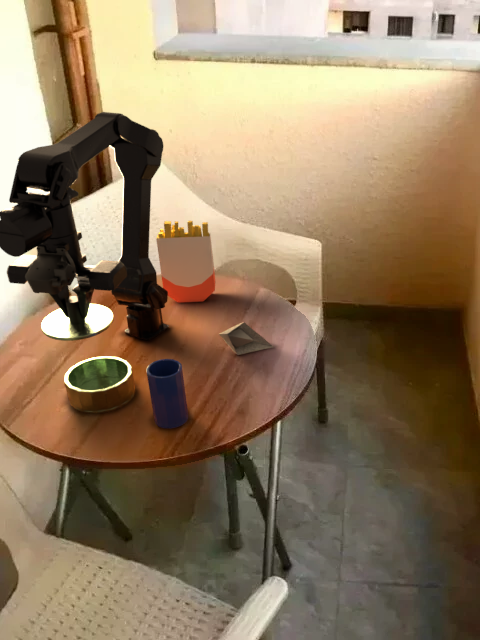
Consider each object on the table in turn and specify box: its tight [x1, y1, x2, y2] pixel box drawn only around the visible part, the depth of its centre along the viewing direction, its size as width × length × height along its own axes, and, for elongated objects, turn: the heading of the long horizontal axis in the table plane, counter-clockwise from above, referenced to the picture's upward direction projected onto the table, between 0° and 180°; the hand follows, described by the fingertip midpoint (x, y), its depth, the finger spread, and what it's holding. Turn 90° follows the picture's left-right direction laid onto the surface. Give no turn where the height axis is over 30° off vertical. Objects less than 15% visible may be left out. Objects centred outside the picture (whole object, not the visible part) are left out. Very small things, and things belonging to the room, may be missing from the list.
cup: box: [145, 358, 189, 429], centre depth 118 cm, size 6×6×10 cm
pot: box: [63, 355, 136, 415], centre depth 126 cm, size 11×11×4 cm
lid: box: [40, 295, 115, 342], centre depth 124 cm, size 12×12×5 cm
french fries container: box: [155, 220, 216, 303], centre depth 153 cm, size 5×11×18 cm, turn 95°
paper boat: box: [218, 321, 274, 356], centre depth 137 cm, size 12×6×9 cm
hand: (76, 317), depth 124 cm, fingers closed on lid, 3 cm apart
